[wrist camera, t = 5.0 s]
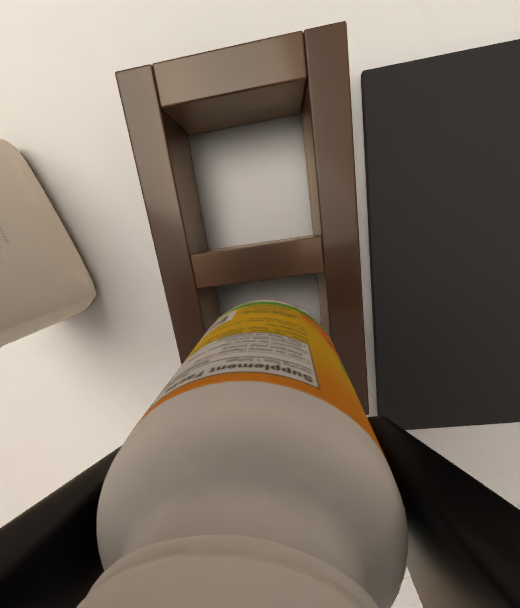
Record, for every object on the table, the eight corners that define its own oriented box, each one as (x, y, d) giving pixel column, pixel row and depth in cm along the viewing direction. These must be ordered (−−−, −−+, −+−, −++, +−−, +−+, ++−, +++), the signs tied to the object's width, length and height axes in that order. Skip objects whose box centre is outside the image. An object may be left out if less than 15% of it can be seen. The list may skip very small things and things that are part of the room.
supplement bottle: (329, 421, 12) (498, 1088, 3) (205, 414, 12) (-30, 978, 3) (339, 298, 11) (745, 766, 1) (200, 294, 11) (-253, 644, 2)
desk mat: (691, 8, 12) (705, 1, 12) (618, 410, 17) (626, 415, 17) (360, 74, 14) (362, 70, 13) (378, 427, 18) (380, 432, 18)
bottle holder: (330, 71, 14) (346, 19, 10) (352, 380, 18) (369, 415, 14) (152, 107, 15) (113, 71, 11) (210, 393, 19) (195, 428, 15)
